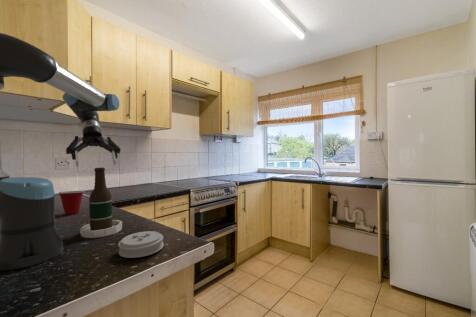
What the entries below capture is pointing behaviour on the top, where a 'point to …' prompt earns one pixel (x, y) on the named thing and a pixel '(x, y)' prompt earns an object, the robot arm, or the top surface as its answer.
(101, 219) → the beer bottle
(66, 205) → the plastic cup
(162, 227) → the top surface
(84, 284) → the top surface
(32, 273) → the top surface
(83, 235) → the dish
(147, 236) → the lid
